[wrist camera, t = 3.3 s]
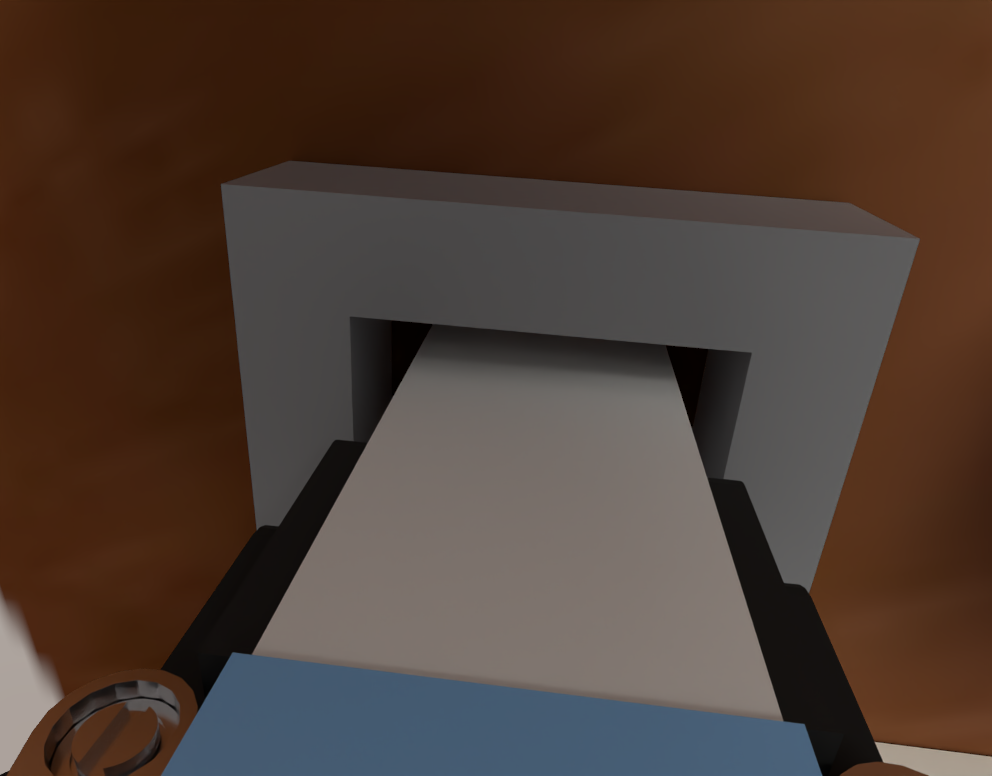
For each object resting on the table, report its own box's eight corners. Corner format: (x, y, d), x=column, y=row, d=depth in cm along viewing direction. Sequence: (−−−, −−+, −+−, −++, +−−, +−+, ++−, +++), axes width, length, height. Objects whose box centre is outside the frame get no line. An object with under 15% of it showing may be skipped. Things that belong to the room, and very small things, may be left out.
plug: (431, 311, 13) (56, 956, 4) (669, 333, 12) (931, 1098, 3) (426, 508, 14) (171, 1271, 5) (635, 531, 14) (743, 1381, 5)
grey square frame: (289, 160, 12) (221, 184, 9) (849, 202, 11) (919, 238, 9) (316, 588, 15) (272, 677, 13) (734, 637, 15) (762, 740, 13)
